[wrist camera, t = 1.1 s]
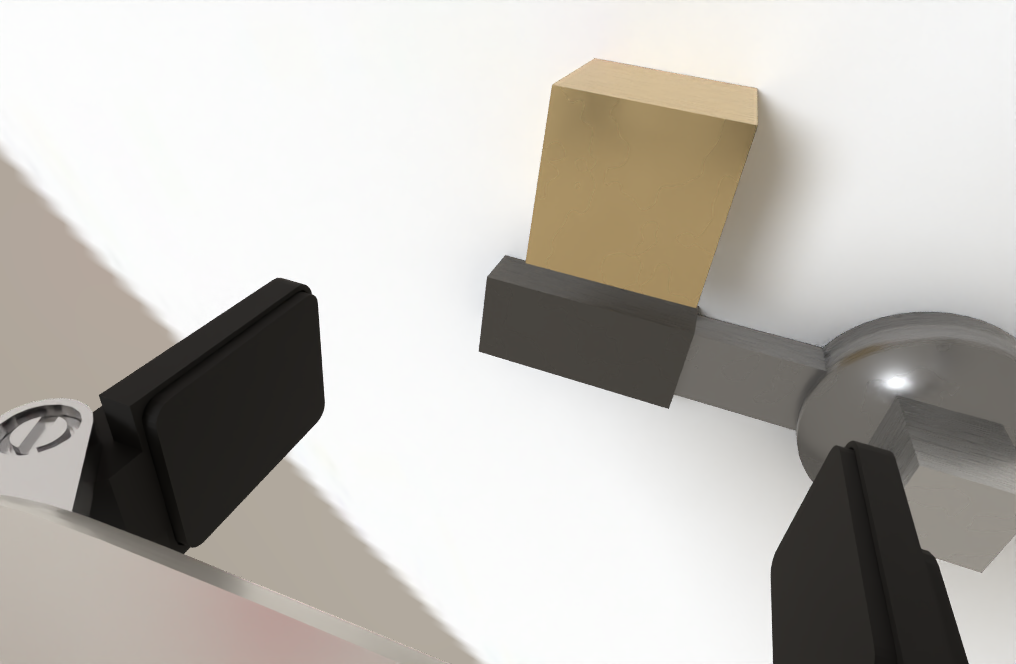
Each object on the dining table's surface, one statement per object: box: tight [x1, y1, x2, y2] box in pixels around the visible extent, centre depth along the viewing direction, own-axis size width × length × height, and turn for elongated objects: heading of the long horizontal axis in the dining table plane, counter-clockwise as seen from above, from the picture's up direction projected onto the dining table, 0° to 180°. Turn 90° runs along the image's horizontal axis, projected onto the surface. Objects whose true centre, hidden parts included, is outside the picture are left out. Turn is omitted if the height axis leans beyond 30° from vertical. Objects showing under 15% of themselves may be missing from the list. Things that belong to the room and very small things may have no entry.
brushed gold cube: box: [526, 58, 758, 308], centre depth 22 cm, size 6×6×6 cm
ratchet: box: [479, 255, 1016, 573], centre depth 25 cm, size 9×23×6 cm, turn 83°
